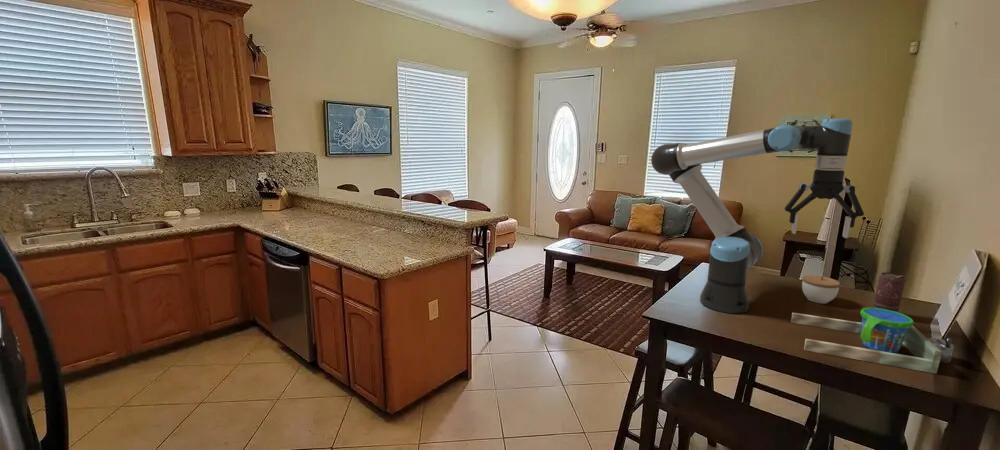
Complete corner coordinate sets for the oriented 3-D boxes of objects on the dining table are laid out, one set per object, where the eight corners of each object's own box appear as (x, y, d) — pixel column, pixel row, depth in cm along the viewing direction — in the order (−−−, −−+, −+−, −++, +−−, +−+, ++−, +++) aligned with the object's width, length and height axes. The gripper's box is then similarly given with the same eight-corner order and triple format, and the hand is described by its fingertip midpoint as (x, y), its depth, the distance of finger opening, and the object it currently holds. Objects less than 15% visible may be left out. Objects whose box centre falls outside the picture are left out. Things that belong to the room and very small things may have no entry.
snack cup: (879, 336, 123) (886, 304, 121) (922, 354, 113) (930, 319, 111) (838, 343, 119) (845, 310, 117) (880, 362, 109) (887, 326, 107)
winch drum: (931, 362, 108) (937, 337, 107) (919, 351, 114) (925, 327, 113) (957, 367, 106) (963, 341, 105) (944, 355, 112) (950, 330, 110)
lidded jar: (841, 301, 148) (845, 276, 146) (829, 308, 142) (834, 282, 141) (806, 292, 157) (810, 269, 155) (794, 298, 151) (798, 274, 149)
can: (902, 319, 134) (911, 278, 131) (879, 318, 135) (888, 277, 132) (889, 312, 140) (897, 272, 137) (867, 310, 141) (875, 271, 138)
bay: (804, 350, 115) (808, 330, 114) (790, 321, 133) (793, 303, 132) (936, 373, 103) (941, 351, 102) (901, 338, 121) (906, 319, 120)
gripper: (784, 168, 132) (775, 233, 136) (885, 171, 121) (872, 241, 126) (780, 167, 138) (771, 229, 143) (876, 169, 128) (863, 236, 132)
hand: (818, 235), depth 134 cm, fingers open, 13 cm apart
